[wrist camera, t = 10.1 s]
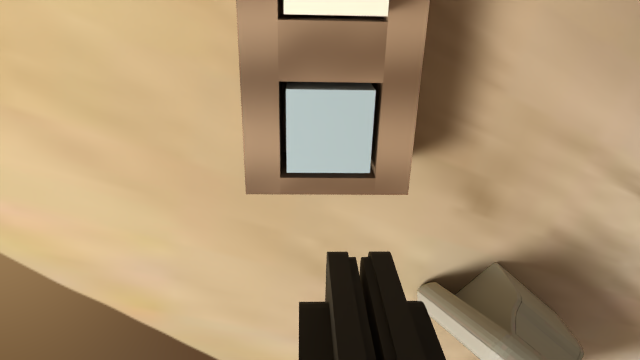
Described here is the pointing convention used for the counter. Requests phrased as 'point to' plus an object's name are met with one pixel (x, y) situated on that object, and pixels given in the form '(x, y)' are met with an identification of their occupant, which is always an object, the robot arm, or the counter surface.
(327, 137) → the blue key
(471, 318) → the grey rock
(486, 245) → the counter surface
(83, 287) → the counter surface
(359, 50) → the frame
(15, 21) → the counter surface
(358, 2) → the white key
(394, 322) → the robot arm
